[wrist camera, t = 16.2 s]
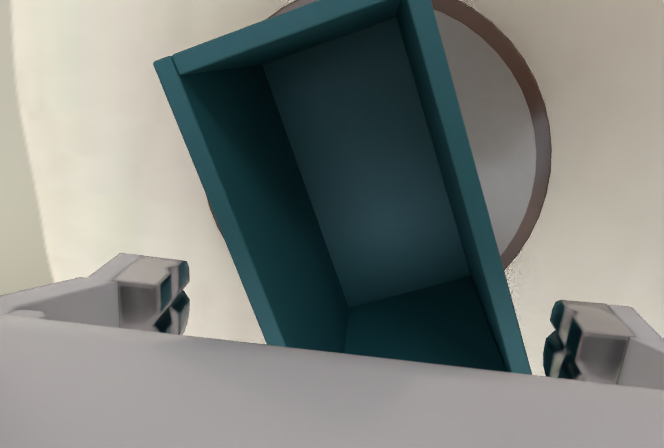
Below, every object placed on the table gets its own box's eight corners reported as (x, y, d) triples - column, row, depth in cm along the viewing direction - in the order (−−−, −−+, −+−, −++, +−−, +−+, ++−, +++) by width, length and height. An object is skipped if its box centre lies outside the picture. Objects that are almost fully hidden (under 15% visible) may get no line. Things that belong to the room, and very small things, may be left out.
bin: (342, 315, 26) (318, 471, 16) (249, 56, 23) (151, 62, 13) (485, 277, 25) (548, 421, 15) (407, -1, 21) (425, -41, 12)
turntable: (343, -99, 22) (340, -110, 21) (619, 136, 24) (634, 142, 22) (148, 188, 27) (134, 196, 25) (394, 370, 28) (394, 387, 27)
